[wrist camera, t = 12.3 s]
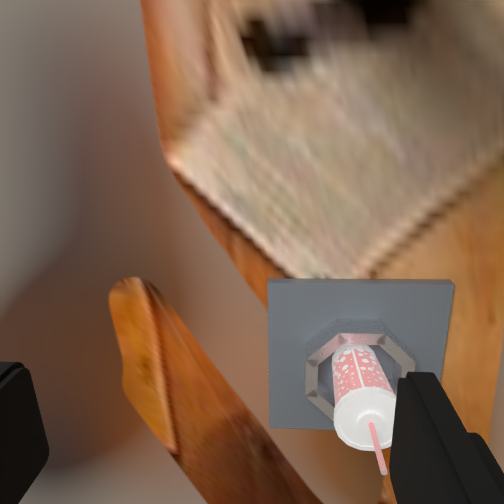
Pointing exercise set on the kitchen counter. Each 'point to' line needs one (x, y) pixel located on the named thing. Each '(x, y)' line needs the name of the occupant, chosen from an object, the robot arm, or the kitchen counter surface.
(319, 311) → the plate
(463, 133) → the kitchen counter surface
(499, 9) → the kitchen counter surface
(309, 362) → the steel collar
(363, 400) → the beverage cup
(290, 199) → the kitchen counter surface
